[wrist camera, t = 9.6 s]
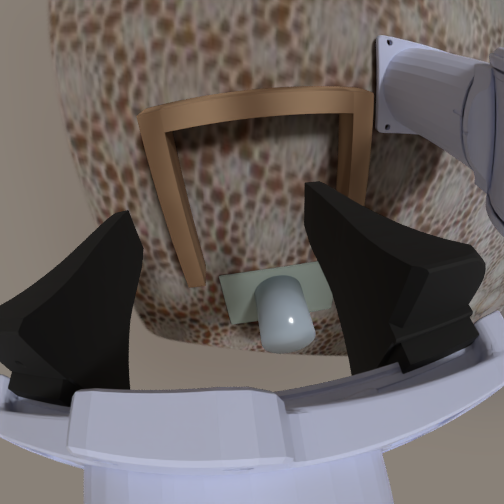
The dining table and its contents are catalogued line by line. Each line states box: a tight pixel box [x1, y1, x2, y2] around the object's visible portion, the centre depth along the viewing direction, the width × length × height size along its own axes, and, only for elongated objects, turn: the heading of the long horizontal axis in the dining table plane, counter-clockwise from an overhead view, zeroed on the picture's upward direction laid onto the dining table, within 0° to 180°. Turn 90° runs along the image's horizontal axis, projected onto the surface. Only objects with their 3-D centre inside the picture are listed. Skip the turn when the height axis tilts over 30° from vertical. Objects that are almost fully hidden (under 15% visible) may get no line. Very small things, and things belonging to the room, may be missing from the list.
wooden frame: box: [137, 86, 374, 288], centre depth 20 cm, size 15×15×2 cm
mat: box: [219, 261, 333, 324], centre depth 30 cm, size 12×8×1 cm, turn 96°
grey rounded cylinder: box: [254, 275, 315, 354], centre depth 27 cm, size 7×5×6 cm
